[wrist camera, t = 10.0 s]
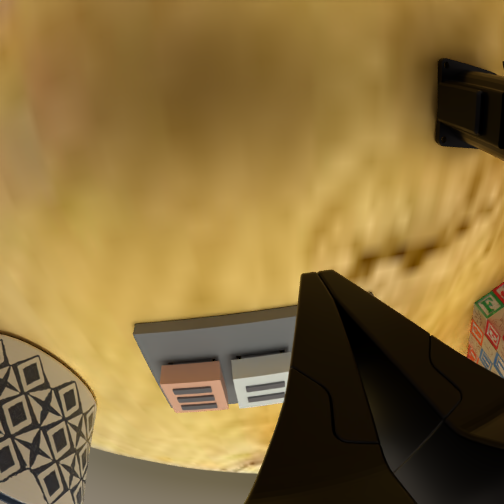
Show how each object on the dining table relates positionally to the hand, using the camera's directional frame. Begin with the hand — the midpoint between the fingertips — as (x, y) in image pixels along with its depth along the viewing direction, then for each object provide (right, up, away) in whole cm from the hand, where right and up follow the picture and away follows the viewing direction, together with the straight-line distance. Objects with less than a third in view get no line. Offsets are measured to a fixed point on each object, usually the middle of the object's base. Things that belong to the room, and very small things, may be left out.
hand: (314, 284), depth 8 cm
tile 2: (-1, -9, +19) cm, 21 cm away
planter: (-28, -15, +20) cm, 38 cm away
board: (-1, -9, +20) cm, 22 cm away
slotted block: (-7, -10, +19) cm, 22 cm away
